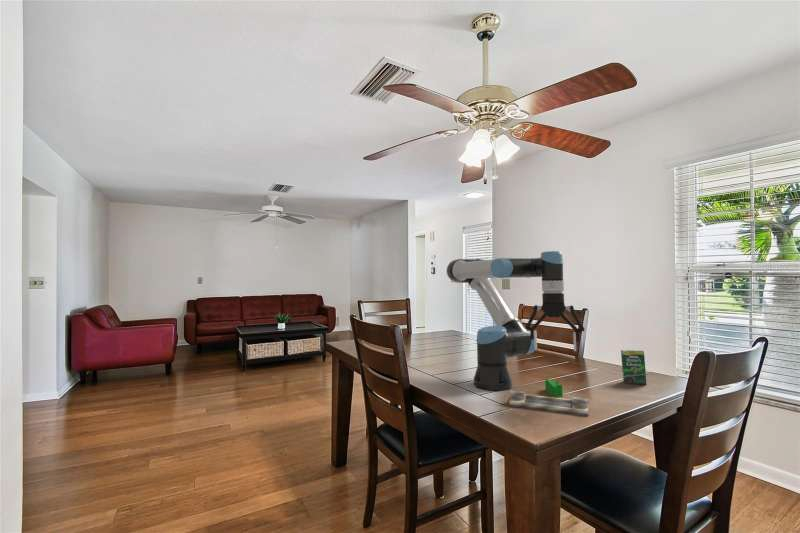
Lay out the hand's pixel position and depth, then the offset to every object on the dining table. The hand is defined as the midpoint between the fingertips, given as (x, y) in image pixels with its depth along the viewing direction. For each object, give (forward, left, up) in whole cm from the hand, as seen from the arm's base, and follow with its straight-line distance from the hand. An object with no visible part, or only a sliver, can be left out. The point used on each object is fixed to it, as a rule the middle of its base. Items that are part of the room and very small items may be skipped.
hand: (555, 349), depth 136 cm
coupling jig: (-2, -14, -17) cm, 22 cm away
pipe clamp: (-1, 0, -17) cm, 17 cm away
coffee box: (+28, +27, -17) cm, 42 cm away
